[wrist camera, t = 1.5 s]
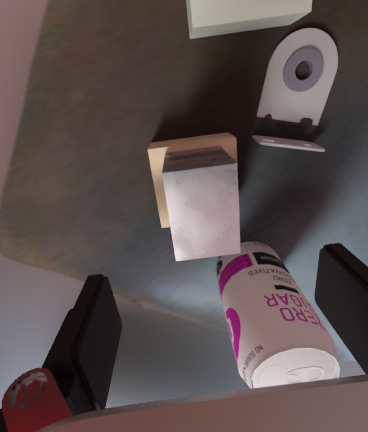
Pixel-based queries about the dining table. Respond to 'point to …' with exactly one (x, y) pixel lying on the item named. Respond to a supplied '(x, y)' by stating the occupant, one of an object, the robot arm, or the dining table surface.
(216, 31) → the stand
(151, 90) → the dining table surface
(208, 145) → the stand
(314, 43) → the bracket
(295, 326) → the supplement can
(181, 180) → the block
